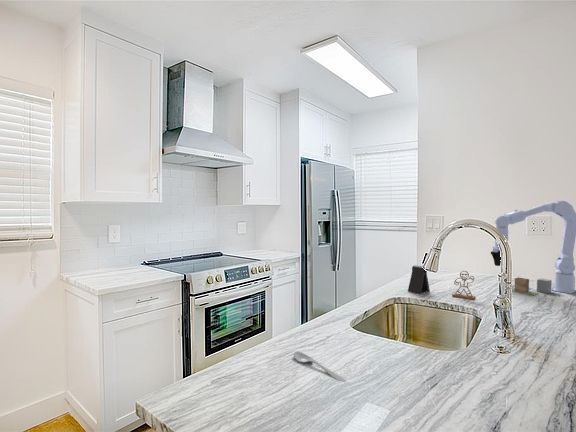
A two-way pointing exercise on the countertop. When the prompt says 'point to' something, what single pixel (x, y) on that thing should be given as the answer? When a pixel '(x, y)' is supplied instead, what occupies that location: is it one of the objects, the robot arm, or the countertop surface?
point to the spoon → (300, 356)
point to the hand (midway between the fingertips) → (500, 265)
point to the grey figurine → (464, 289)
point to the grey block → (544, 285)
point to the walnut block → (521, 285)
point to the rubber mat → (526, 292)
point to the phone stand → (418, 280)
